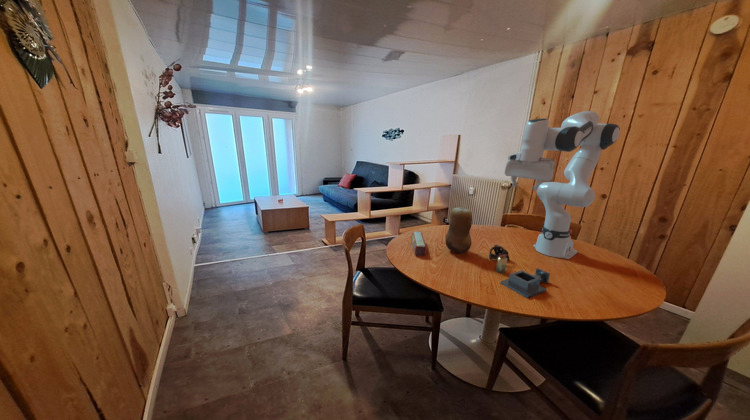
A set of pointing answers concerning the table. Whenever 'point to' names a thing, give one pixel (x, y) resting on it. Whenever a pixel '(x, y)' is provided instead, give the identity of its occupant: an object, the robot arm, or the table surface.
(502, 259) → the brass valve
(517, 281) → the socket fitting
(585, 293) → the table surface
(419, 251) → the snack package
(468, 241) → the butternut squash
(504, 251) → the black mechanical part
